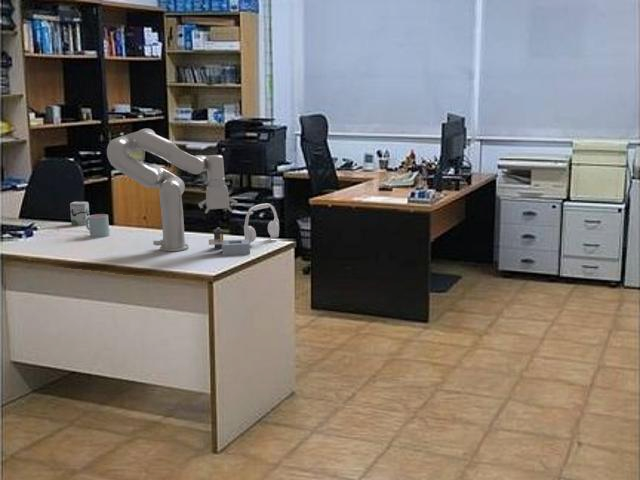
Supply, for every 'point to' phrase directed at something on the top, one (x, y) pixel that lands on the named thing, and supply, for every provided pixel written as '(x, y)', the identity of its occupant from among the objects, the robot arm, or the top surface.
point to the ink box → (79, 213)
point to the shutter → (216, 241)
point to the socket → (235, 247)
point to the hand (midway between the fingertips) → (219, 220)
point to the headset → (272, 226)
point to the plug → (218, 237)
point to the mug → (98, 225)
